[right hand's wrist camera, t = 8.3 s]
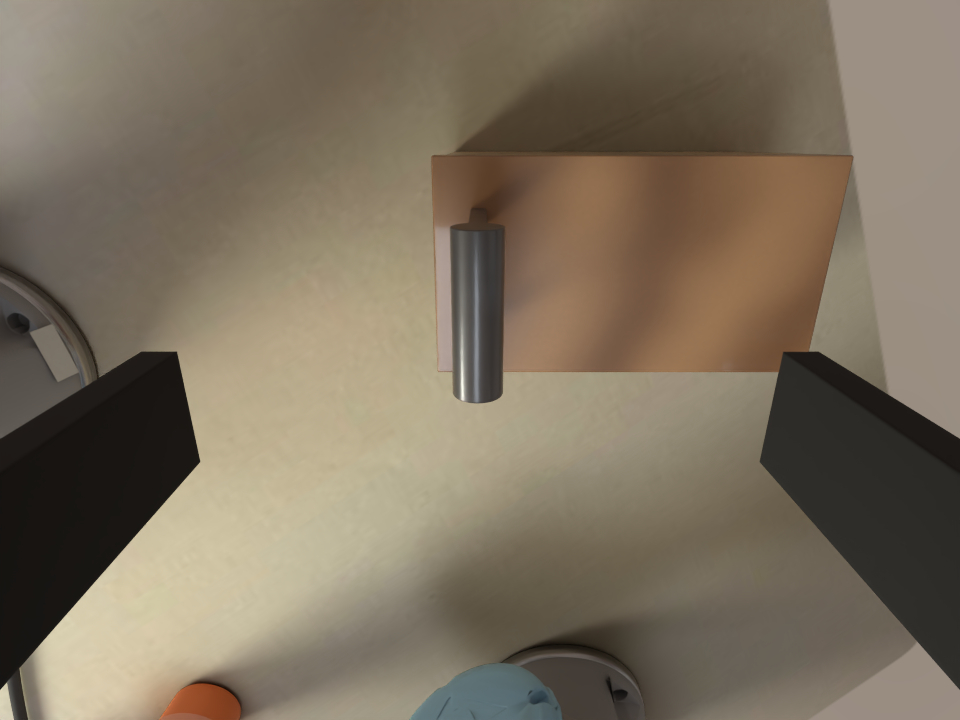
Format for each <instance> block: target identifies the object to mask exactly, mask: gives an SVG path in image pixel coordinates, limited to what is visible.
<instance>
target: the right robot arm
mask: <svg viewBox="0 0 960 720" xmlns="http://www.w3.org/2000/svg"><path fill="white" fill-rule="evenodd" d="M199 463H200V458H199V454H198V449H197V444H196V439H195V435H194V430H193V425H192V421H191V416H190V411H189V406H188V402H187V397H186V392H185V388H184V383H183V378H182V373H181V369H180V364H179V359H178V355H177V352H140V353H139V354H137V355H135V356H134V357H132V358H131V359H129V360H127V361H126V362H124V363H122V364H121V365H119V366H118V367H116V368H114V369H113V370H111V371H109V372H108V373H106V374H105V375H103V376H101V377H100V378H98V379H97V374H96V369H95V365H94V361H93V358H92V356H91V353H90V350H89V348H88V346H87V344H86V342H85V340H84V338H83V337H82V335H81V333H80V331H79V330H78V329H77V327H76V326H75V324H74V323H73V321H72V320H71V319H70V318H69V317H68V315H67V314H66V313H65V312H64V311H63V310H62V309H61V308H60V306H59V305H58V304H57V303H56V302H54V301H53V300H52V299H51V298H50V297H49V296H48V295H47V294H45V293H44V292H43V291H41V290H40V289H39V288H38V287H36V286H35V285H33V284H32V283H30V282H29V281H27V280H26V279H24V278H22V277H20V276H19V275H17V274H15V273H13V272H11V271H9V270H6V269H4V268H2V267H0V689H1V688H2V687H3V686H4V685H5V684H6V683H7V684H8V690H9V696H10V701H11V706H12V711H13V716H14V720H28V717H27V712H26V707H25V702H24V696H23V690H22V684H21V677H20V670H19V668H20V667H21V665H22V664H23V663H24V662H25V661H26V660H27V659H28V658H29V656H30V655H31V654H32V653H33V652H34V651H35V650H36V648H37V647H38V646H39V645H40V644H41V643H42V642H43V640H44V639H45V638H46V637H47V636H48V635H49V634H50V632H51V631H52V630H53V629H54V628H55V627H56V626H57V624H58V623H59V622H60V621H61V620H62V619H63V618H64V616H65V615H66V614H67V613H68V612H69V611H70V610H71V609H72V607H73V606H74V605H75V604H76V603H77V602H78V601H79V599H80V598H81V597H82V596H83V595H84V594H85V593H86V591H87V590H88V589H89V588H90V587H91V586H92V585H93V583H94V582H95V581H96V580H97V579H98V578H99V577H100V575H101V574H102V573H103V572H104V571H105V570H106V569H107V568H108V566H109V565H110V564H111V563H112V562H113V561H114V560H115V558H116V557H117V556H118V555H119V554H120V553H121V552H122V550H123V549H124V548H125V547H126V546H127V545H128V544H129V542H130V541H131V540H132V539H133V538H134V537H135V536H136V534H137V533H138V532H139V531H140V530H141V529H142V528H143V526H144V525H145V524H146V523H147V522H148V521H149V520H150V519H151V517H152V516H153V515H154V514H155V513H156V512H157V511H158V509H159V508H160V507H161V506H162V505H163V504H164V503H165V501H166V500H167V499H168V498H169V497H170V496H171V495H172V493H173V492H174V491H175V490H176V489H177V488H178V487H179V485H180V484H181V483H182V482H183V481H184V480H185V479H186V478H187V476H188V475H189V474H190V473H191V472H192V471H193V470H194V468H195V467H196V466H197V465H198V464H199ZM760 463H761V464H762V465H763V466H764V467H765V468H766V470H767V471H768V472H769V473H770V474H771V475H772V476H773V478H774V479H775V480H776V481H777V482H778V483H779V484H780V485H781V487H782V488H783V489H784V490H785V491H786V492H787V493H788V495H789V496H790V497H791V498H792V499H793V500H794V501H795V503H796V504H797V505H798V506H799V507H800V508H801V509H802V511H803V512H804V513H805V514H806V515H807V516H808V517H809V519H810V520H811V521H812V522H813V523H814V524H815V525H816V526H817V528H818V529H819V530H820V531H821V532H822V533H823V534H824V536H825V537H826V538H827V539H828V540H829V541H830V542H831V544H832V545H833V546H834V547H835V548H836V549H837V550H838V552H839V553H840V554H841V555H842V556H843V557H844V558H845V560H846V561H847V562H848V563H849V564H850V565H851V566H852V568H853V569H854V570H855V571H856V572H857V573H858V574H859V575H860V577H861V578H862V579H863V580H864V581H865V582H866V583H867V585H868V586H869V587H870V588H871V589H872V590H873V591H874V593H875V594H876V595H877V596H878V597H879V598H880V599H881V601H882V602H883V603H884V604H885V605H886V606H887V607H888V609H889V610H890V611H891V612H892V613H893V614H894V615H895V617H896V618H897V619H898V620H899V621H900V622H901V623H902V624H903V626H904V627H905V628H906V629H907V630H908V631H909V632H910V634H911V635H912V636H913V637H914V638H915V639H916V640H917V642H918V643H919V644H920V645H921V646H922V647H923V648H924V650H925V651H926V652H927V653H928V654H929V655H930V656H931V657H932V659H933V660H934V661H935V662H936V663H937V664H938V665H939V667H940V668H941V669H942V670H943V671H944V672H945V673H946V675H947V676H948V677H949V678H950V679H951V680H952V681H953V683H954V684H955V685H956V686H957V687H958V688H959V689H960V439H959V438H958V437H956V436H954V435H953V434H951V433H950V432H948V431H946V430H945V429H943V428H941V427H940V426H938V425H936V424H935V423H933V422H932V421H930V420H928V419H927V418H925V417H924V416H922V415H920V414H919V413H917V412H915V411H914V410H912V409H911V408H909V407H907V406H906V405H904V404H902V403H901V402H899V401H898V400H896V399H894V398H893V397H891V396H889V395H888V394H886V393H885V392H883V391H881V390H880V389H878V388H877V387H875V386H873V385H872V384H870V383H868V382H867V381H865V380H864V379H862V378H860V377H859V376H857V375H855V374H854V373H852V372H851V371H849V370H847V369H846V368H844V367H842V366H841V365H839V364H838V363H836V362H834V361H833V360H831V359H829V358H828V357H826V356H825V355H823V354H821V353H820V352H783V355H782V359H781V364H780V369H779V373H778V378H777V383H776V388H775V392H774V397H773V402H772V406H771V411H770V416H769V421H768V425H767V430H766V435H765V439H764V444H763V449H762V454H761V458H760Z"/></svg>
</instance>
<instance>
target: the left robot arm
mask: <svg viewBox="0 0 960 720" xmlns="http://www.w3.org/2000/svg"><path fill="white" fill-rule="evenodd" d="M409 720H646V717H645V710H644V703H643V699H642V696H641V692H640V689H639V686H638V683H637V681H636V679H635V678H634V676H633V675H632V673H631V672H630V671H629V670H628V669H627V668H626V667H625V666H624V665H623V664H622V663H621V662H619V661H618V660H616V659H615V658H613V657H611V656H610V655H608V654H605V653H603V652H601V651H598V650H595V649H591V648H588V647H583V646H576V645H549V646H542V647H537V648H533V649H529V650H526V651H523V652H521V653H518V654H516V655H514V656H512V657H510V658H508V659H506V660H505V661H503V662H502V663H492V664H486V665H481V666H478V667H475V668H472V669H469V670H467V671H465V672H463V673H461V674H459V675H457V676H455V677H454V678H453V680H451V681H450V682H449V683H448V684H447V685H446V686H444V687H442V688H438V689H437V690H436V691H435V692H434V693H433V694H432V695H431V696H429V697H428V698H427V699H426V700H425V701H424V703H423V704H422V705H421V706H420V707H419V708H418V709H417V710H416V712H415V713H414V714H413V715H412V717H411V718H410V719H409Z"/></svg>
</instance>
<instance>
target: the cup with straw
mask: <svg viewBox="0 0 960 720" xmlns="http://www.w3.org/2000/svg"><path fill="white" fill-rule="evenodd" d="M240 715H241V707H240V704H239V702H238V700H237V699H236V698H235V697H234V696H233V695H232V694H231V693H230V692H228V691H227V690H225V689H223V688H221V687H219V686H215V685H211V684H193V685H189V686H187V687H185V688H183V689H181V690H180V691H179V692H178V693H177V694H176V696H175V697H174V698H173V700H172V701H171V703H170V704H169V706H168V707H167V709H166V710H165V712H164V713H163V715H162V716H161V718H160V719H159V720H239V719H240Z"/></svg>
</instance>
